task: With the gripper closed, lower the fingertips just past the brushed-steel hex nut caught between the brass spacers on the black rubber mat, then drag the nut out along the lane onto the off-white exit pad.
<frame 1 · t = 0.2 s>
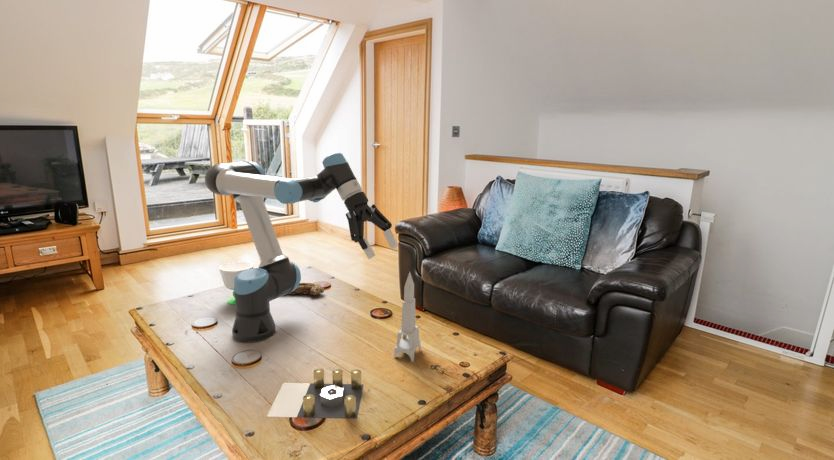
hand: (384, 252, 149), 36 cm above the table, tool tilted 35°, fingers open, 13 cm apart
mat: (318, 401, 128), on the table
cup: (238, 301, 197), on the table
spacers: (333, 392, 128), on the mat, point 3 cm above the table
nut: (332, 399, 128), point 1 cm above the table, touching mat
sculpture 2: (407, 354, 156), on the table
sculpture: (302, 294, 207), on the table
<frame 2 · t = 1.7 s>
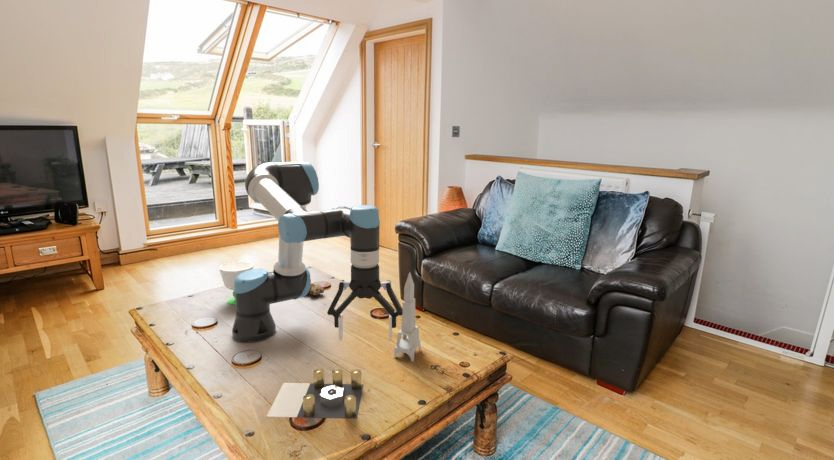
hand: (365, 338, 125), 19 cm above the table, tool pointing down, fingers open, 13 cm apart
nothing on the table moved.
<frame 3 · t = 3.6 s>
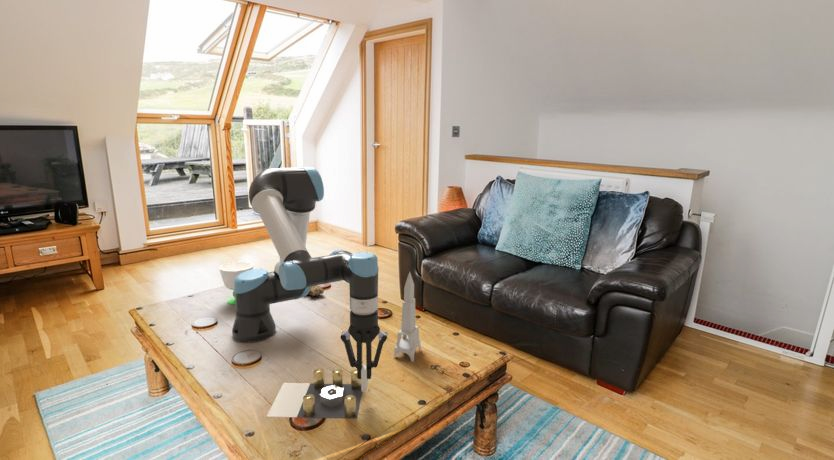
hand: (364, 388, 127), 5 cm above the table, tool pointing down, fingers closed
nothing on the table moved.
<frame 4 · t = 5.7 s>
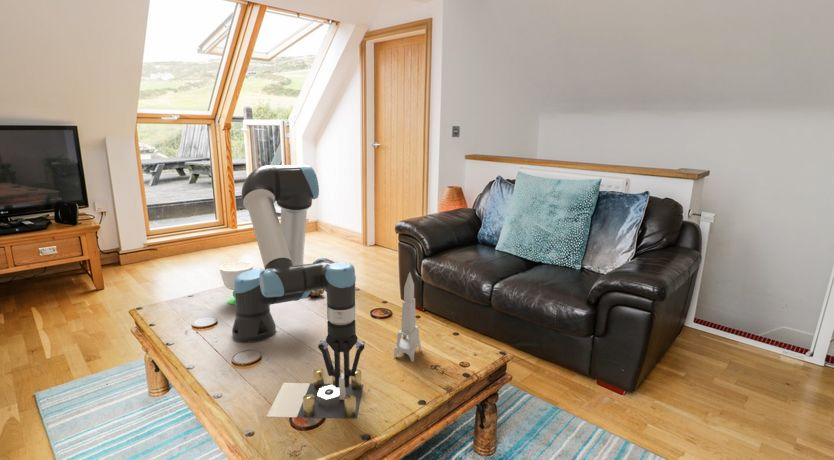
hand: (342, 396, 128), 2 cm above the table, tool pointing down, fingers closed
nut: (329, 399, 128), point 1 cm above the table, touching gripper
everything else where it was.
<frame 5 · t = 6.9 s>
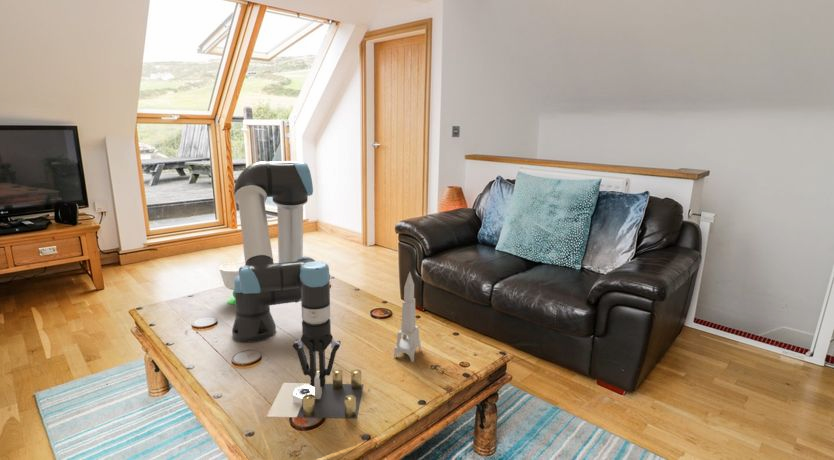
hand: (318, 396, 128), 2 cm above the table, tool pointing down, fingers closed
nut: (305, 399, 128), point 1 cm above the table, touching gripper
everything else where it was.
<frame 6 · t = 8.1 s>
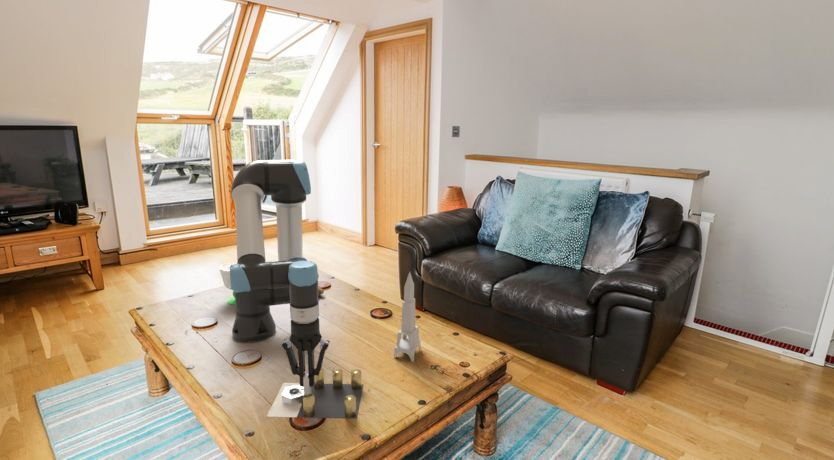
hand: (307, 395, 128), 2 cm above the table, tool pointing down, fingers closed
nut: (294, 399, 128), point 1 cm above the table, touching gripper, mat
everything else where it was.
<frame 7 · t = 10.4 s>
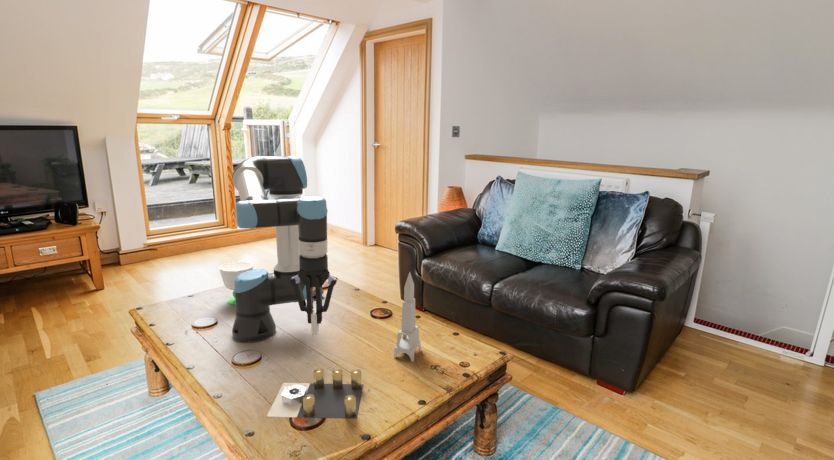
hand: (315, 333, 129), 19 cm above the table, tool pointing down, fingers closed
nut: (294, 399, 128), point 1 cm above the table, touching mat
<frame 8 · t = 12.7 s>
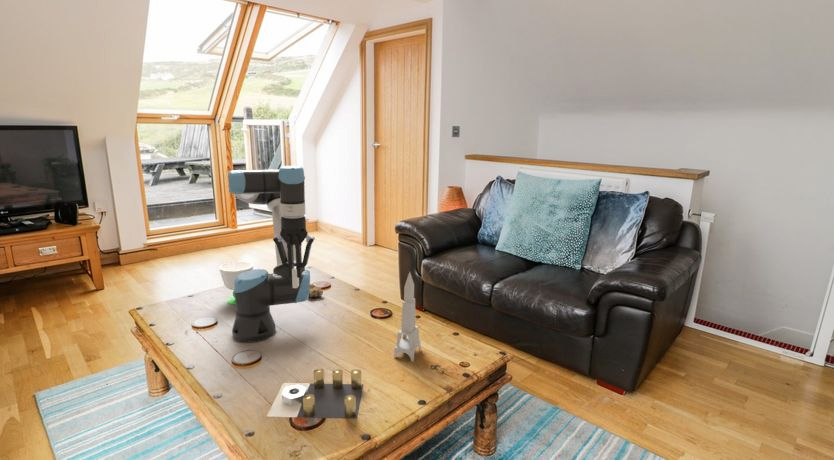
hand: (295, 286, 148), 24 cm above the table, tool pointing down, fingers closed
at the end: nut inside the target area (0.7 cm from its centre), point 0.6 cm above the table; nut moved 10.6 cm from its start; nut tilted 0° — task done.
